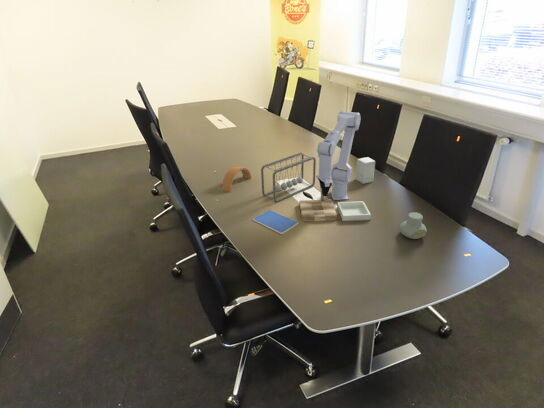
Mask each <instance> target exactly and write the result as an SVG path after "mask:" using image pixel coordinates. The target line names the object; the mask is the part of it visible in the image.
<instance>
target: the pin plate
mask: <svg viewBox="0 0 544 408" xmlns="http://www.w3.org/2000/svg"><path fill="white" fill-rule="evenodd" d="M299 209H300V214H301V219H302V222H319V221H323V222H324V221H338V220H337V219H338V214H337V212H336V209H335V206H334V203H333V201H332V199H331V198H330V199H329V198H327V201H321V199H307V200H305V199H303V200H299Z"/></svg>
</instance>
